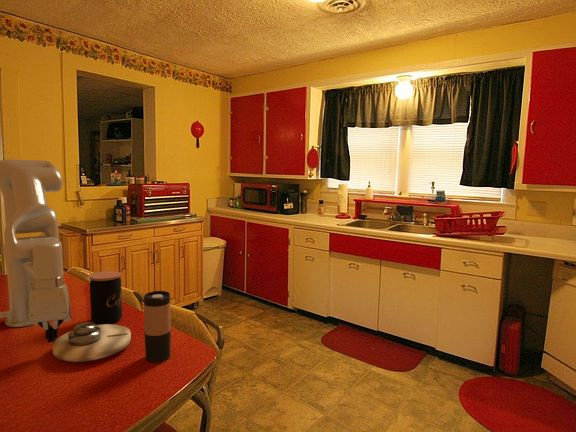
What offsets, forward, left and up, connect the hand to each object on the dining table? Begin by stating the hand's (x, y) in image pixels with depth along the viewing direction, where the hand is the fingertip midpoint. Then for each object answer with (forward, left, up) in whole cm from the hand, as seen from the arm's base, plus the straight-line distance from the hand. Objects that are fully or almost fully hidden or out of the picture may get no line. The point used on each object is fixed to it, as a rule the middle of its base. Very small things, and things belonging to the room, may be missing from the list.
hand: (52, 340), depth 115 cm
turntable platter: (+11, 0, -3) cm, 12 cm away
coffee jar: (+13, +24, -5) cm, 28 cm away
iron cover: (+9, 0, -1) cm, 9 cm away
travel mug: (+30, -12, -5) cm, 33 cm away
